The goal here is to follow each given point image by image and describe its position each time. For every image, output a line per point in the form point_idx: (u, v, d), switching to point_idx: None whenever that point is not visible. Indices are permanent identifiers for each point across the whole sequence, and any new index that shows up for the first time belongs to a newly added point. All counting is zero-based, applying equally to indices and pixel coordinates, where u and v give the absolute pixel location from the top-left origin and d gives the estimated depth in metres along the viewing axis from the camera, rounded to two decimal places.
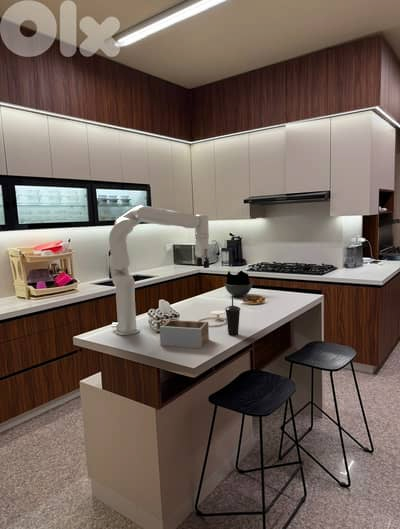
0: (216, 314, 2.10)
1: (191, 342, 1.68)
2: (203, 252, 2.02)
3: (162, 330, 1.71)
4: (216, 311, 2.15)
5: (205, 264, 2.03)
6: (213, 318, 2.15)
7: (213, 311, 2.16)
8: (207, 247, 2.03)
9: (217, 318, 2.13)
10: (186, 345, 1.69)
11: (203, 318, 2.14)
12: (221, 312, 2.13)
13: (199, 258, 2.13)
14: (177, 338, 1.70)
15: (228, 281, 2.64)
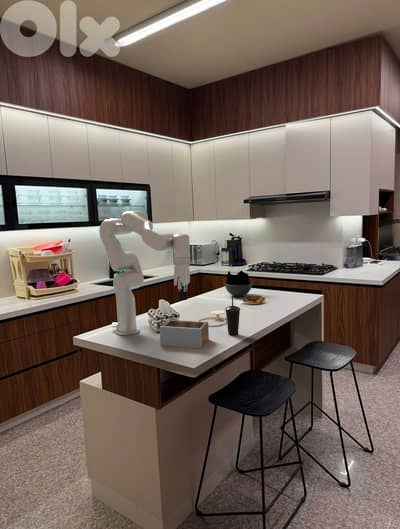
0: (216, 314, 2.11)
1: (191, 342, 1.68)
2: (175, 280, 1.68)
3: (162, 330, 1.71)
4: (216, 311, 2.16)
5: (181, 295, 1.72)
6: (213, 318, 2.15)
7: (213, 311, 2.16)
8: (181, 275, 1.67)
9: (217, 318, 2.14)
10: (186, 345, 1.69)
11: (203, 318, 2.14)
12: (221, 312, 2.13)
13: None
14: (177, 338, 1.70)
15: (228, 281, 2.64)
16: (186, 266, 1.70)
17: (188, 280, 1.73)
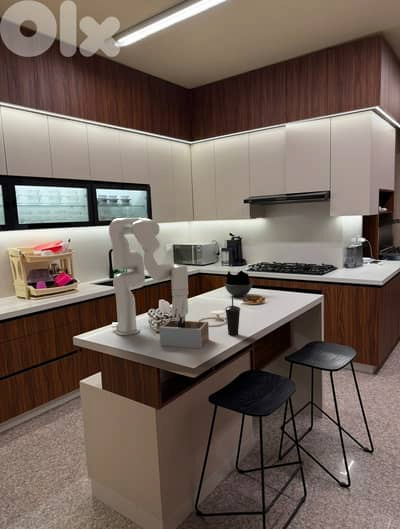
0: (216, 314, 2.11)
1: (191, 342, 1.68)
2: (173, 312, 1.65)
3: (162, 331, 1.71)
4: (216, 311, 2.16)
5: (179, 327, 1.70)
6: (213, 318, 2.15)
7: (213, 311, 2.16)
8: (179, 307, 1.64)
9: (217, 318, 2.14)
10: (186, 345, 1.69)
11: (203, 318, 2.14)
12: (221, 312, 2.13)
13: None
14: (177, 338, 1.69)
15: (228, 281, 2.64)
16: (185, 297, 1.68)
17: (186, 311, 1.71)
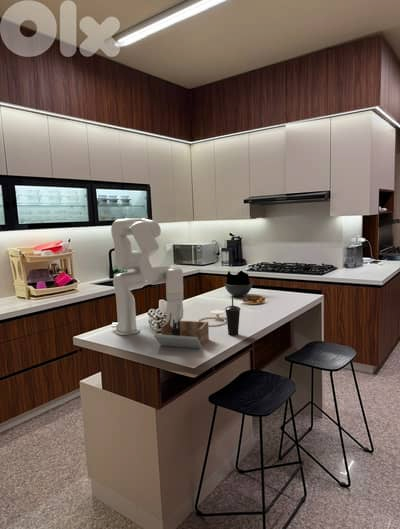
0: (216, 314, 2.11)
1: (190, 345, 1.66)
2: (168, 317, 1.60)
3: (158, 338, 1.67)
4: (216, 311, 2.16)
5: None
6: (213, 317, 2.16)
7: (213, 311, 2.17)
8: (173, 311, 1.59)
9: (217, 318, 2.14)
10: (186, 346, 1.68)
11: (203, 318, 2.14)
12: (221, 312, 2.14)
13: None
14: (175, 342, 1.67)
15: (228, 281, 2.64)
16: (179, 302, 1.62)
17: (181, 316, 1.65)
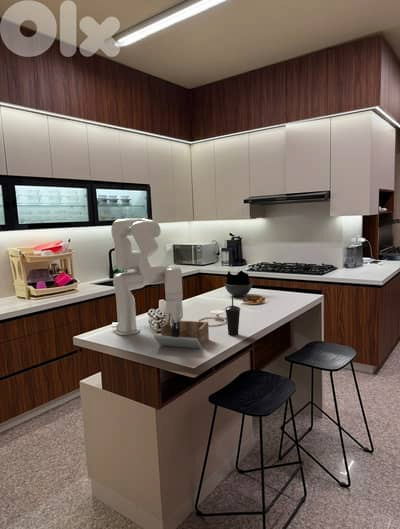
0: (216, 314, 2.11)
1: (190, 345, 1.66)
2: (167, 317, 1.58)
3: (158, 339, 1.67)
4: (216, 311, 2.16)
5: (173, 332, 1.63)
6: (213, 317, 2.16)
7: (213, 311, 2.17)
8: (172, 311, 1.57)
9: (217, 318, 2.14)
10: (186, 346, 1.68)
11: (203, 318, 2.14)
12: (221, 312, 2.14)
13: None
14: (175, 343, 1.67)
15: (228, 281, 2.64)
16: (179, 301, 1.60)
17: (181, 315, 1.63)
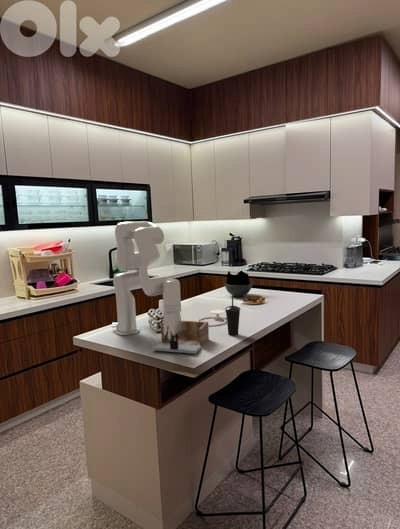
0: (216, 313, 2.11)
1: None
2: (165, 330, 1.56)
3: None
4: (215, 310, 2.17)
5: None
6: (213, 317, 2.16)
7: (212, 310, 2.17)
8: (170, 324, 1.55)
9: (217, 317, 2.15)
10: None
11: (203, 318, 2.15)
12: (221, 311, 2.14)
13: None
14: None
15: (228, 281, 2.64)
16: (177, 314, 1.58)
17: (179, 328, 1.61)
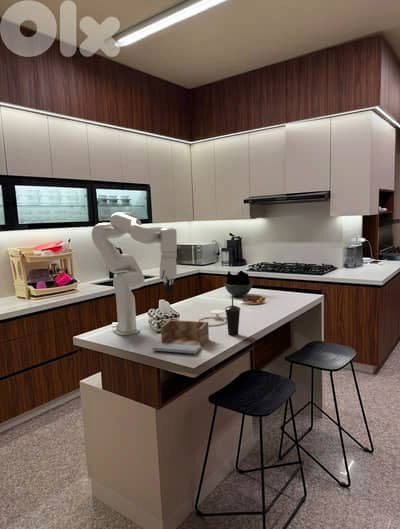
0: (216, 313, 2.12)
1: None
2: (161, 273, 1.70)
3: None
4: (215, 310, 2.17)
5: None
6: (212, 317, 2.16)
7: (212, 310, 2.17)
8: (166, 268, 1.69)
9: (217, 317, 2.15)
10: None
11: (203, 318, 2.15)
12: (220, 311, 2.14)
13: None
14: None
15: (228, 281, 2.64)
16: (173, 260, 1.72)
17: (174, 274, 1.75)
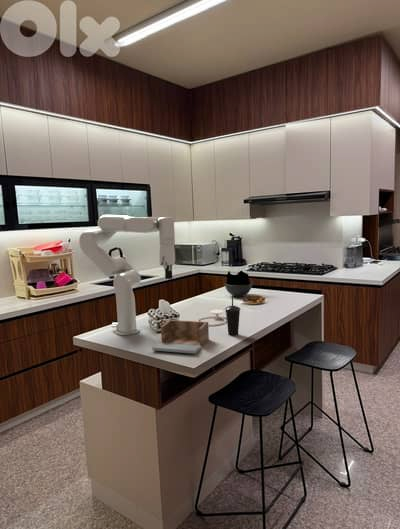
0: (216, 313, 2.12)
1: None
2: (161, 260, 1.79)
3: None
4: (215, 310, 2.17)
5: (166, 274, 1.84)
6: (212, 317, 2.16)
7: (212, 310, 2.17)
8: (165, 254, 1.78)
9: (216, 317, 2.15)
10: None
11: (202, 318, 2.15)
12: (220, 311, 2.15)
13: None
14: None
15: (228, 281, 2.64)
16: (171, 247, 1.81)
17: (173, 260, 1.85)
